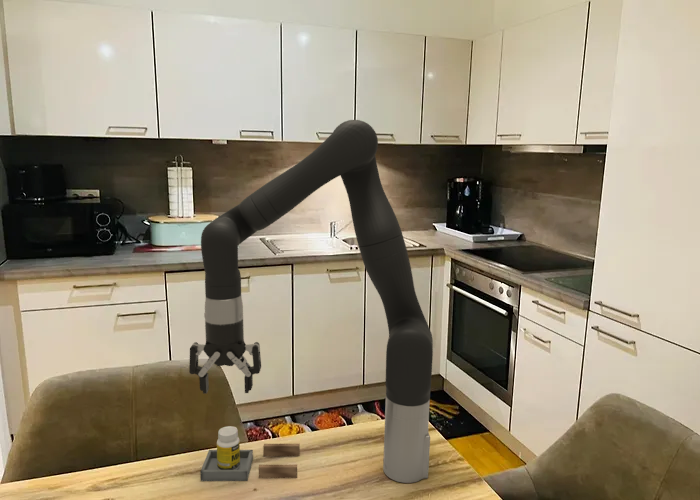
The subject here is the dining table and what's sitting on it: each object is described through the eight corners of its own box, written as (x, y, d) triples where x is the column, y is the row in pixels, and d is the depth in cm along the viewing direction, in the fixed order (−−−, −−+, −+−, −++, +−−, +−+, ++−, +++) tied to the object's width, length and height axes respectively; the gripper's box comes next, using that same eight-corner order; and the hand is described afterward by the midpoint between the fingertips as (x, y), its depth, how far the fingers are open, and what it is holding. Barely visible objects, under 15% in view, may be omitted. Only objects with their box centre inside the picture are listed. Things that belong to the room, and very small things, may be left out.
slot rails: (299, 453, 118) (299, 443, 118) (297, 478, 109) (297, 467, 109) (264, 453, 118) (263, 443, 117) (258, 478, 109) (258, 467, 109)
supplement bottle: (234, 475, 109) (233, 438, 107) (213, 471, 110) (212, 435, 108) (243, 461, 114) (242, 426, 112) (223, 459, 115) (222, 423, 113)
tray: (253, 458, 116) (252, 449, 116) (247, 481, 108) (247, 471, 108) (209, 458, 116) (209, 449, 115) (200, 481, 108) (200, 471, 107)
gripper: (261, 311, 110) (263, 383, 113) (193, 311, 109) (196, 384, 112) (257, 323, 102) (258, 400, 105) (183, 322, 102) (187, 400, 105)
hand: (226, 391), depth 109 cm, fingers open, 8 cm apart
